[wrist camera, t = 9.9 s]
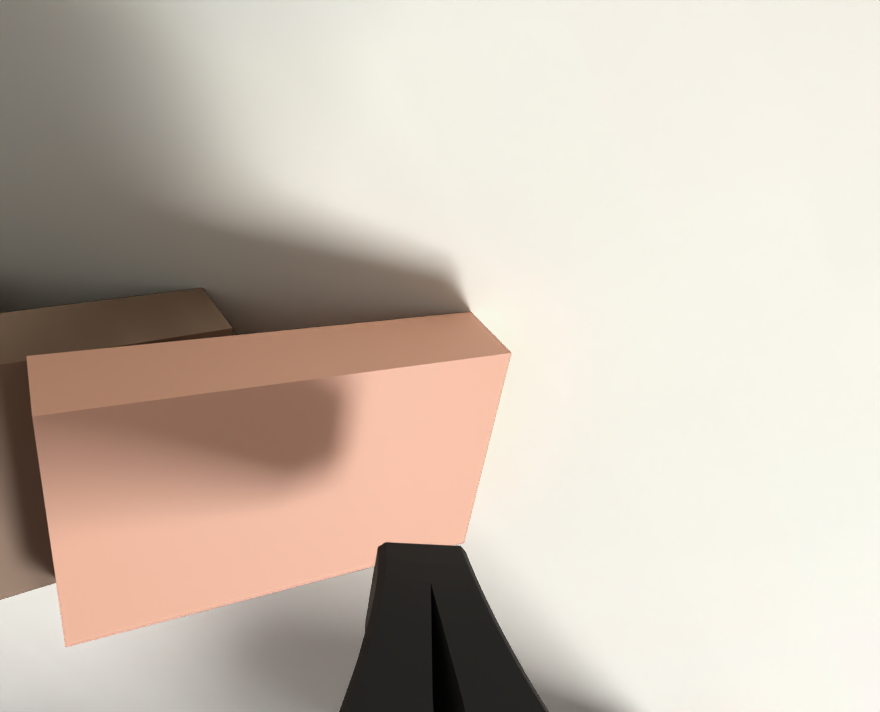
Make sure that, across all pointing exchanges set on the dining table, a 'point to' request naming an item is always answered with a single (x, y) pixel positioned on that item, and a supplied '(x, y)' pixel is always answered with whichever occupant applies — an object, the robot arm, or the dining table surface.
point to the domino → (10, 416)
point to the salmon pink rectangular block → (255, 460)
